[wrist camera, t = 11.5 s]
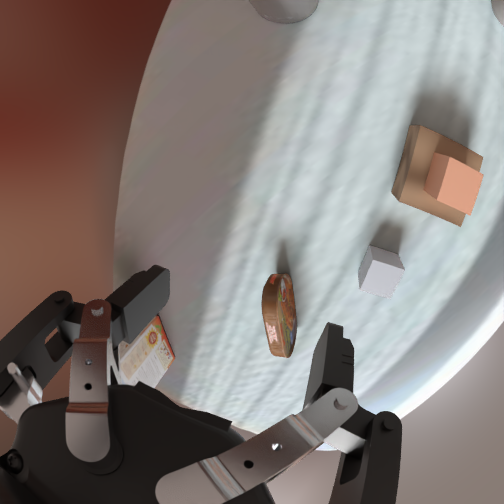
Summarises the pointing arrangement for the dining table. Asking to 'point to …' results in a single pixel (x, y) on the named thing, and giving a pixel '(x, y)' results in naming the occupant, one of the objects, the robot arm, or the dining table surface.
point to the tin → (279, 314)
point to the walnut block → (417, 168)
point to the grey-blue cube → (380, 272)
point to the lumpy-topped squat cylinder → (498, 10)
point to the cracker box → (146, 356)
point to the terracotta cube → (453, 183)
